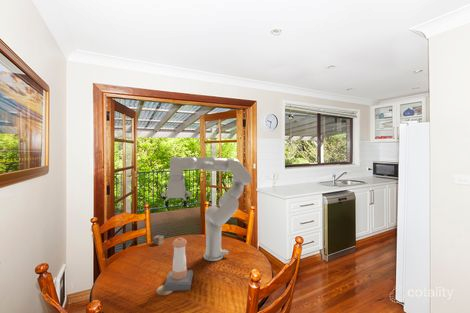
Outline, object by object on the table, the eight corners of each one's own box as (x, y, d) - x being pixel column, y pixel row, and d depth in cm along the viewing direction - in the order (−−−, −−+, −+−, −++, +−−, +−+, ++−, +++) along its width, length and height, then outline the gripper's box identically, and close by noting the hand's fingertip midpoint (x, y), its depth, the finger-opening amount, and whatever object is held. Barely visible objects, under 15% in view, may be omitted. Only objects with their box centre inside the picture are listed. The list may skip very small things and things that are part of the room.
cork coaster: (175, 285, 107) (175, 284, 107) (172, 296, 99) (172, 294, 99) (158, 286, 106) (158, 284, 106) (154, 297, 99) (154, 295, 98)
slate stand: (192, 275, 115) (192, 269, 115) (190, 289, 103) (190, 283, 103) (169, 276, 114) (169, 270, 114) (164, 291, 102) (164, 284, 102)
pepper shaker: (180, 270, 114) (180, 233, 114) (189, 274, 110) (190, 237, 110) (168, 276, 108) (169, 238, 108) (178, 281, 104) (178, 241, 104)
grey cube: (153, 244, 155) (153, 237, 155) (158, 241, 159) (158, 235, 159) (159, 245, 153) (159, 238, 153) (163, 242, 158) (163, 235, 158)
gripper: (192, 177, 131) (191, 205, 131) (162, 177, 129) (162, 206, 129) (190, 178, 123) (190, 208, 123) (159, 178, 122) (159, 209, 122)
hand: (176, 207), depth 126 cm, fingers open, 9 cm apart
